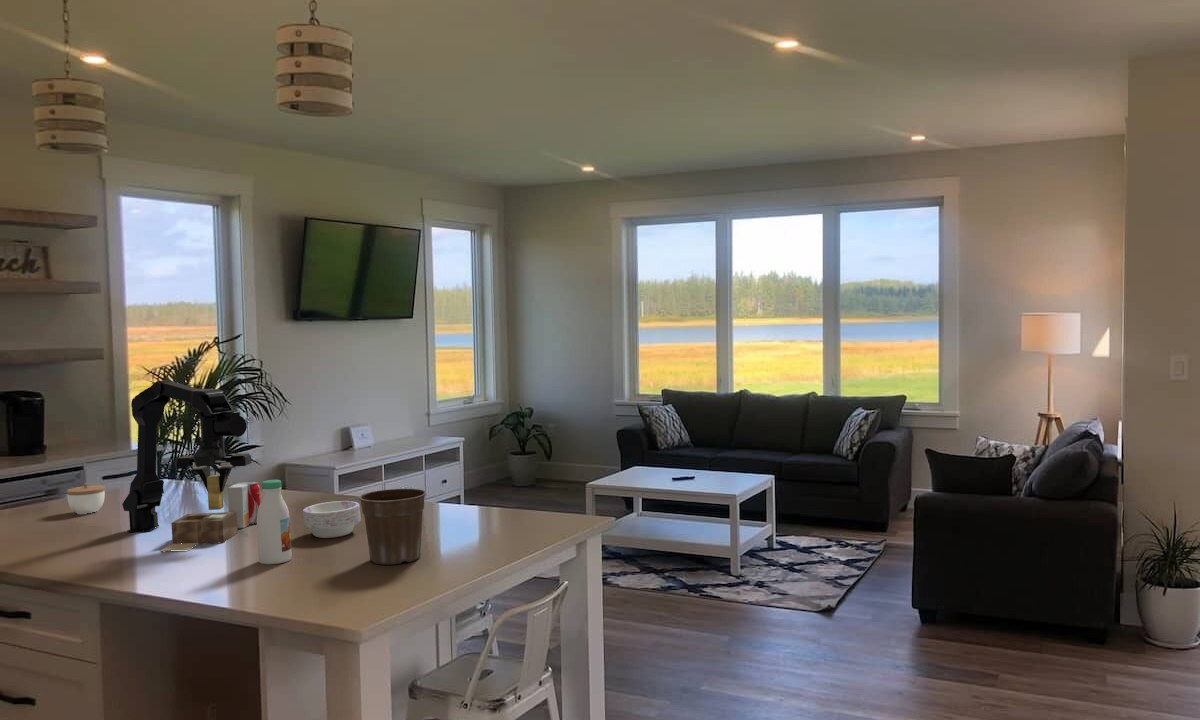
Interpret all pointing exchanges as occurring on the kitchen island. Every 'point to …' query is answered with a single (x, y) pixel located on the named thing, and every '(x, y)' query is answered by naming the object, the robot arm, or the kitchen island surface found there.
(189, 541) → the block
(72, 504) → the lidded jar
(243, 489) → the skincare box
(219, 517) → the on button
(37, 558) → the kitchen island surface
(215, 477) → the square wooden peg
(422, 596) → the kitchen island surface
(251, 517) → the soda can
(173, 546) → the pad
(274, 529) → the milk bottle
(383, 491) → the plant pot
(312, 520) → the paper bowls
